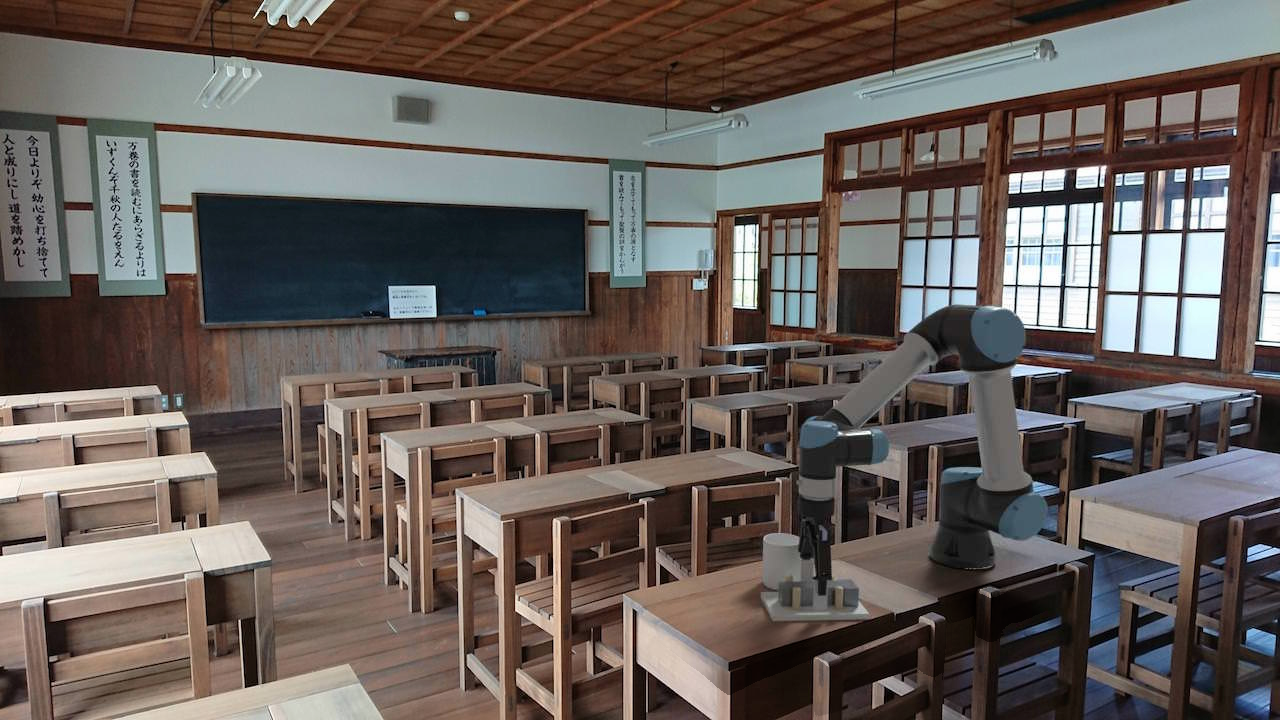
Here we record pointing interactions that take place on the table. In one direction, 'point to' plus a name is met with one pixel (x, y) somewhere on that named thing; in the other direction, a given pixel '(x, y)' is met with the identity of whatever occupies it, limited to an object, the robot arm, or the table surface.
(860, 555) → the table surface
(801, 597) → the grey bar
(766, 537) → the mug
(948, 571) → the table surface
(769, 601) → the rack
